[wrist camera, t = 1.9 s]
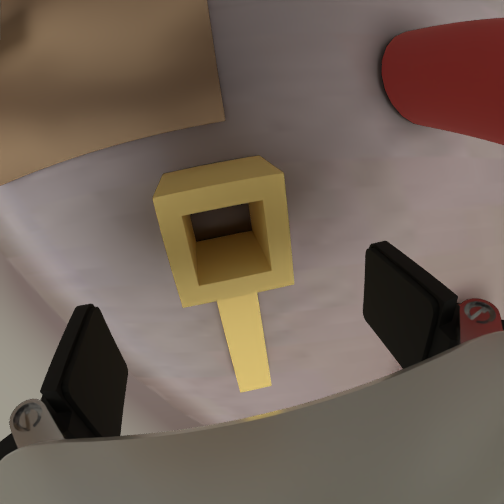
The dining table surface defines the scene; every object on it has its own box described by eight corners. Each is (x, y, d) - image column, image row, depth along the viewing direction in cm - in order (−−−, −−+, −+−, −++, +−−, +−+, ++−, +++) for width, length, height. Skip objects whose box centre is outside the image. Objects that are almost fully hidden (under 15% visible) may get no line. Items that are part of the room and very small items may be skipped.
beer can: (458, 111, 18) (596, 147, 7) (395, 138, 18) (555, 192, 7) (431, 27, 15) (576, 19, 4) (361, 42, 15) (528, 15, 4)
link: (162, 173, 17) (152, 198, 12) (259, 155, 17) (283, 172, 13) (218, 377, 24) (226, 427, 19) (284, 363, 24) (301, 410, 20)
